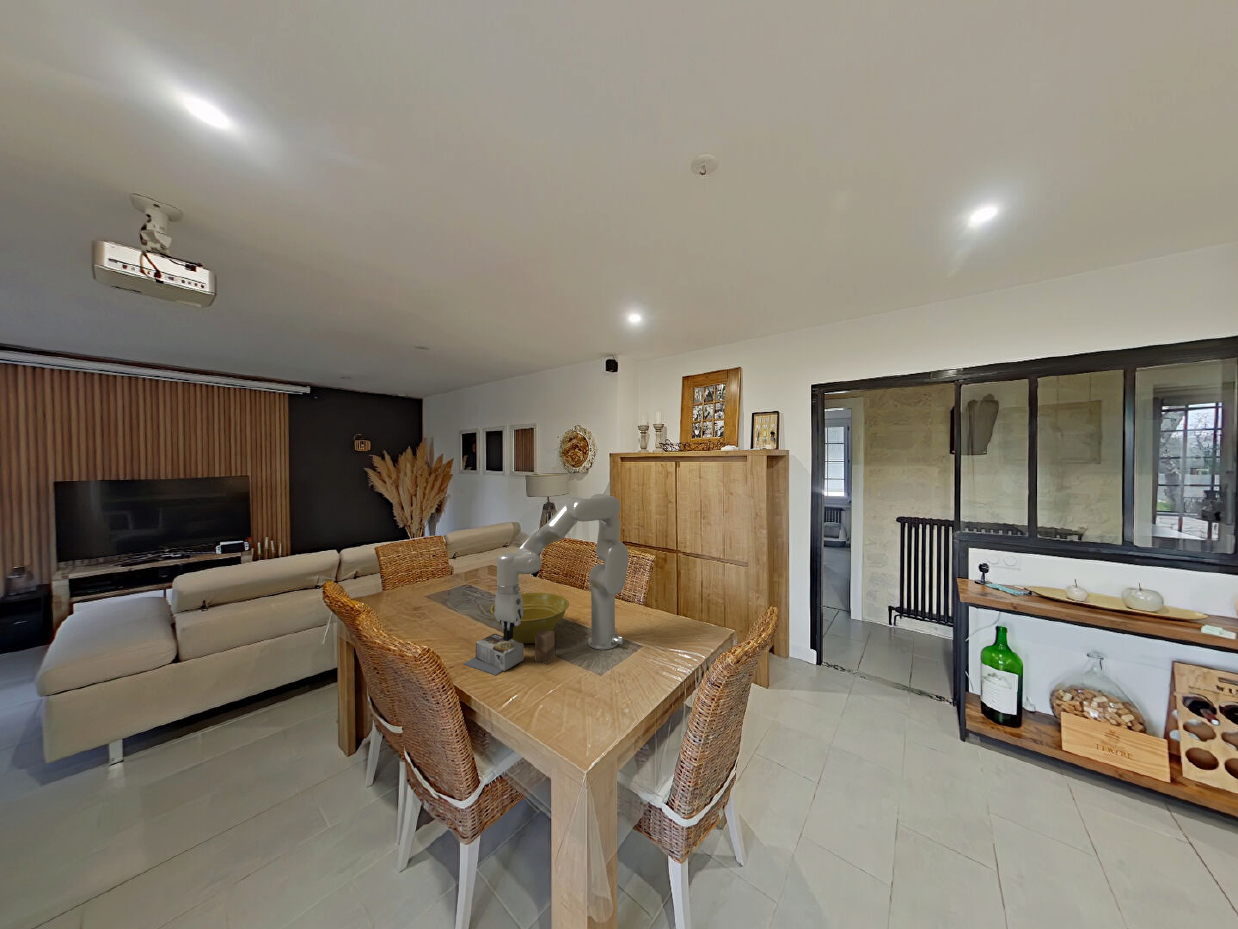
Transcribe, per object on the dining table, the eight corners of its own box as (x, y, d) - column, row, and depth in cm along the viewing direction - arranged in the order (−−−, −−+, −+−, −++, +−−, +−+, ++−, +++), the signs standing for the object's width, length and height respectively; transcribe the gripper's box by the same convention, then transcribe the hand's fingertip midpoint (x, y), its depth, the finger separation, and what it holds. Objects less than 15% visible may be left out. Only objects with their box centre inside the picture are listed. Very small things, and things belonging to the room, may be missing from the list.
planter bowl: (576, 622, 183) (576, 593, 183) (558, 657, 151) (558, 621, 151) (508, 619, 187) (508, 590, 187) (476, 653, 155) (476, 618, 155)
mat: (520, 660, 149) (520, 659, 149) (495, 675, 138) (495, 674, 138) (488, 650, 156) (488, 649, 156) (463, 664, 146) (463, 663, 146)
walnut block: (554, 658, 150) (554, 632, 150) (546, 664, 146) (545, 637, 145) (544, 655, 152) (543, 629, 152) (535, 661, 148) (535, 634, 148)
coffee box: (524, 660, 148) (495, 648, 157) (523, 643, 147) (495, 632, 157) (504, 672, 140) (475, 659, 149) (503, 654, 140) (475, 641, 149)
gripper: (531, 588, 144) (531, 639, 144) (500, 582, 151) (500, 631, 152) (516, 595, 138) (516, 648, 138) (484, 588, 145) (485, 639, 145)
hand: (508, 639), depth 145 cm, fingers closed
